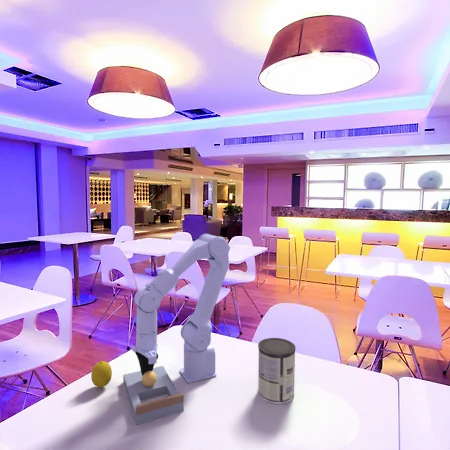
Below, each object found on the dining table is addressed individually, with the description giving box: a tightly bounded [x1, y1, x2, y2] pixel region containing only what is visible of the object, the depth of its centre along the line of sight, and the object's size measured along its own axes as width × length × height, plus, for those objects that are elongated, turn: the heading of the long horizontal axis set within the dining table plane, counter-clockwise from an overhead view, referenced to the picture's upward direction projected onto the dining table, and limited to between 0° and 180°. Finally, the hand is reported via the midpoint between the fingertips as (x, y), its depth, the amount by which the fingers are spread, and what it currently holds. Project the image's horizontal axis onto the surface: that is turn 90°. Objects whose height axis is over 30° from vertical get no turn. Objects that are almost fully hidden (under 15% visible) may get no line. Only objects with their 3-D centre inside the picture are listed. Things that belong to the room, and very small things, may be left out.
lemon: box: [90, 360, 113, 389], centre depth 93 cm, size 6×6×8 cm
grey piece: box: [122, 365, 185, 425], centre depth 89 cm, size 12×20×4 cm, turn 26°
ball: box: [142, 371, 157, 387], centre depth 90 cm, size 4×4×4 cm
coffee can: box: [257, 337, 296, 405], centre depth 91 cm, size 10×10×14 cm
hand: (146, 376), depth 93 cm, fingers closed
